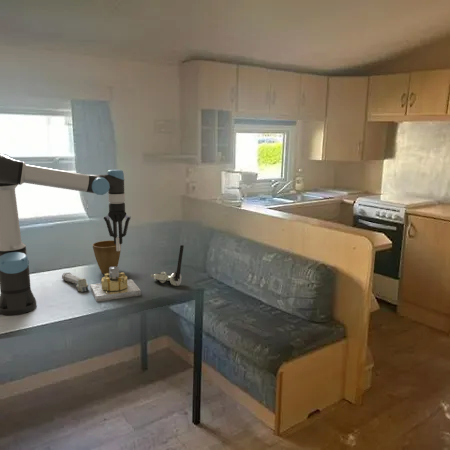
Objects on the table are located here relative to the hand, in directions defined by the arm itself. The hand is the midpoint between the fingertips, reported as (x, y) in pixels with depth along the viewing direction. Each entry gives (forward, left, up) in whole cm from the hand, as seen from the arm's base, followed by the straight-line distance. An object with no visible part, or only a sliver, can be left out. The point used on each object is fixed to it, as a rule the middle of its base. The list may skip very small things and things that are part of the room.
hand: (118, 250), depth 224 cm
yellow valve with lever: (-3, -6, -15) cm, 16 cm away
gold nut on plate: (-4, -10, -18) cm, 21 cm away
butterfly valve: (+22, -6, -18) cm, 29 cm away
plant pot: (-1, +24, -18) cm, 30 cm away
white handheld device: (-20, +9, -18) cm, 28 cm away
